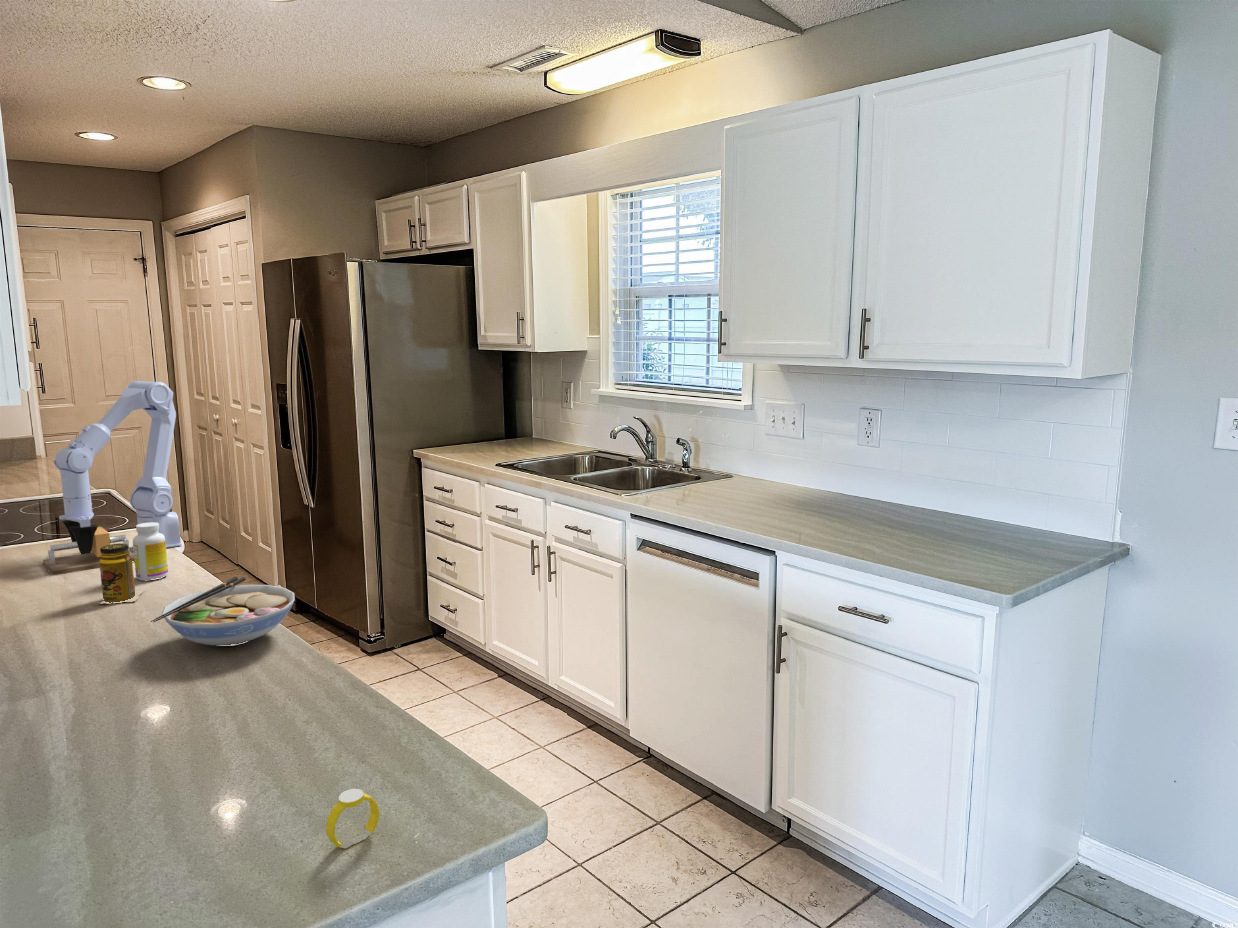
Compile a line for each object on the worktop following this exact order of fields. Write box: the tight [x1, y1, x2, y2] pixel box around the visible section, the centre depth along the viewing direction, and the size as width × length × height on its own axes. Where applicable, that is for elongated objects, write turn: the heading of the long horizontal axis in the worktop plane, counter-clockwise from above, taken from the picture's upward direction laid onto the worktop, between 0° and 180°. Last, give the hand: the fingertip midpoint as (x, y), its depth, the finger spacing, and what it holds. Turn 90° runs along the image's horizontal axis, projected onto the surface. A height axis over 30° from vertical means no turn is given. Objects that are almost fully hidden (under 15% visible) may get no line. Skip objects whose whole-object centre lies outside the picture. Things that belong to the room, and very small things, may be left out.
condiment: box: [99, 542, 136, 603], centre depth 181 cm, size 7×8×12 cm
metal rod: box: [47, 534, 131, 566], centre depth 208 cm, size 17×2×5 cm, turn 132°
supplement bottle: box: [132, 522, 169, 581], centre depth 196 cm, size 7×7×13 cm
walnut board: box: [42, 551, 134, 576], centre depth 209 cm, size 18×13×1 cm
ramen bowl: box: [150, 576, 295, 646], centre depth 158 cm, size 25×23×8 cm
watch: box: [325, 788, 380, 848], centre depth 96 cm, size 6×3×6 cm, turn 137°
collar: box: [91, 525, 111, 557], centre depth 209 cm, size 3×9×6 cm, turn 42°
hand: (82, 550), depth 207 cm, fingers open, 7 cm apart
